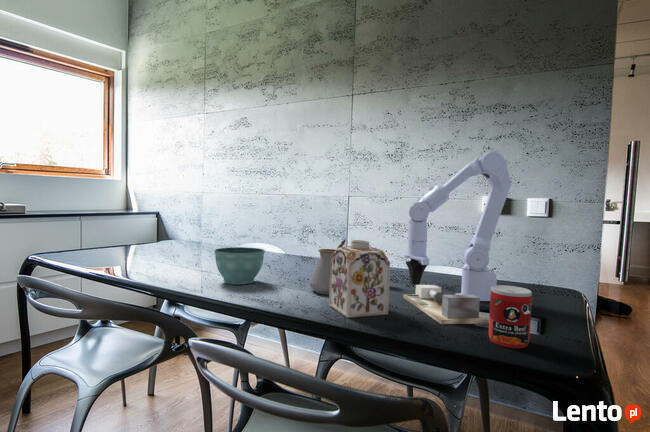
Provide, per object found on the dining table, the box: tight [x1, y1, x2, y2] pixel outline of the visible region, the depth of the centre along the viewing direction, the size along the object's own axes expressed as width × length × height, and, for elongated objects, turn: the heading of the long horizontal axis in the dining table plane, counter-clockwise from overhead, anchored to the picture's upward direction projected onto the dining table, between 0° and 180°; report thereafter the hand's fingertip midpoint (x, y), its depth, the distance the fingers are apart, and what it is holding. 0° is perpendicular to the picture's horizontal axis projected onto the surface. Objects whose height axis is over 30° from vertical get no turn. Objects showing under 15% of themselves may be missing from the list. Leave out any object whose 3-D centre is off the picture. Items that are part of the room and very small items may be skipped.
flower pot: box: [213, 246, 266, 286], centre depth 128 cm, size 16×16×11 cm
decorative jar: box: [328, 239, 391, 319], centre depth 99 cm, size 12×12×18 cm
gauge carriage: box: [407, 284, 445, 304], centre depth 109 cm, size 9×10×3 cm
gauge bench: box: [402, 293, 489, 325], centre depth 104 cm, size 12×25×6 cm, turn 9°
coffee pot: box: [308, 239, 349, 295], centre depth 124 cm, size 21×12×15 cm, turn 158°
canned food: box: [488, 284, 533, 349], centre depth 80 cm, size 8×8×11 cm
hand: (415, 284), depth 121 cm, fingers closed
